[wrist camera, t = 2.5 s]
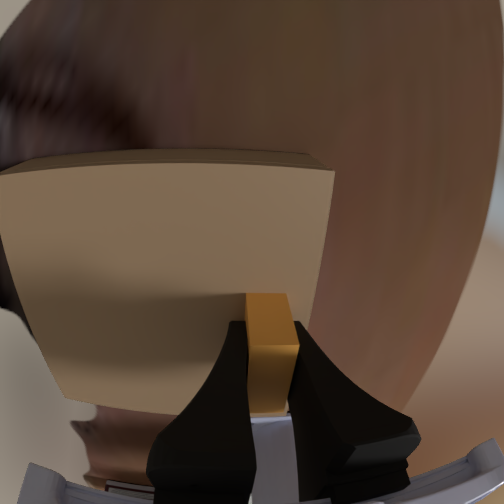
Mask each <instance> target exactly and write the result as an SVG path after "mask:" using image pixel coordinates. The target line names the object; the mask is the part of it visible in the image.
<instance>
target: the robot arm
mask: <svg viewBox="0 0 504 504" xmlns="http://www.w3.org/2000/svg"><path fill="white" fill-rule="evenodd" d="M294 325H295V329H296V333H297V337H298V341H299V350H298V354H297V359H296V363H295V368H294V372H293V376H292V380H291V384H290V389H289V393H288V397H287V402H288V406H289V410H290V413H287V414H286V416H277V417H250V410H249V401H248V392H247V381H246V358H247V342H248V338H247V329H246V321H230V322H229V327H228V332H227V336H226V339H225V342H224V344H223V347H222V349H221V352H220V354H219V356H218V358H217V360H216V362H215V364H214V366H213V368H212V370H211V372H210V374H209V375H208V377H207V379H206V380H205V382H204V383H203V385H202V386H201V388H200V389H199V391H198V392H197V393H196V395H195V396H194V398H193V399H192V400H191V401H190V403H189V404H188V405H187V406H186V407H185V408H184V410H183V411H182V412H181V413H180V414H179V415H178V416H177V417H176V418H175V419H174V420H173V421H172V422H171V423H170V424H169V425H168V426H167V427H166V428H165V429H164V430H162V431H161V432H160V433H159V434H158V435H157V437H156V439H155V441H154V443H153V446H152V448H151V450H150V453H149V457H148V461H147V468H146V475H147V477H148V478H149V480H150V482H151V483H152V485H153V486H154V488H155V489H154V499H153V500H147V499H141V498H135V497H129V496H124V495H119V494H115V493H110V492H106V491H101V490H97V489H93V488H90V487H86V486H82V485H79V484H75V483H72V482H69V481H66V480H65V478H64V477H63V476H61V475H60V474H59V473H57V472H55V471H53V470H50V469H47V468H44V467H42V466H39V465H36V464H34V463H29V465H28V468H27V471H26V474H25V478H24V481H23V484H22V487H21V491H20V494H19V498H18V502H17V504H248V503H249V499H250V494H251V495H252V504H474V503H476V502H478V501H479V500H481V499H483V498H484V497H485V496H487V495H489V494H490V493H491V492H493V491H494V490H496V489H497V488H499V487H500V486H501V485H502V484H504V456H503V454H502V452H501V450H500V448H499V446H498V444H497V442H496V440H495V438H491V439H489V440H488V441H485V442H484V443H481V444H479V445H478V446H476V447H475V448H473V449H472V450H471V451H470V452H469V453H468V454H467V456H465V457H463V458H460V459H458V460H456V461H453V462H451V463H449V464H446V465H444V466H441V467H439V468H436V469H434V470H431V471H428V472H426V473H423V474H420V475H417V476H414V477H411V478H409V477H408V474H407V471H406V468H407V467H408V462H407V460H406V458H407V457H408V456H409V455H410V454H411V453H412V452H413V451H414V450H415V449H416V448H417V446H418V445H419V443H420V441H421V437H420V434H419V432H418V429H417V427H416V425H415V423H414V422H413V420H412V418H410V417H408V416H406V415H404V414H402V413H400V412H398V411H396V410H394V409H392V408H390V407H388V406H386V405H385V404H383V403H381V402H380V401H378V400H376V399H375V398H373V397H372V396H370V395H369V394H368V393H366V392H365V391H364V390H362V389H361V388H359V387H358V386H357V385H356V384H354V383H353V382H352V381H351V380H350V379H349V378H348V377H346V376H345V375H344V374H343V373H342V372H341V371H340V370H339V369H338V368H337V367H336V366H335V365H334V364H333V362H332V361H331V360H330V359H329V358H328V357H327V356H326V355H325V353H324V352H323V351H322V350H321V349H320V347H319V346H318V345H317V344H316V342H315V341H314V340H313V338H312V337H311V336H310V334H309V333H308V332H307V330H306V329H305V327H304V326H303V325H302V323H301V322H300V321H294Z"/></svg>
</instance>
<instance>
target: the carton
mask: <svg viewBox="0 0 504 504" xmlns="http://www.w3.org/2000/svg"><path fill="white" fill-rule="evenodd" d="M152 160H212V161H243V162H263V163H279V164H293V165H305V166H317V167H327V166H326V165H324V164H323V163H321V162H320V161H318V160H317V159H315V158H314V157H312V156H311V155H309V154H300V153H289V152H275V151H259V150H239V149H199V148H174V149H135V150H115V151H100V152H87V153H76V154H66V155H57V156H48V157H40V158H33V159H30V160H28V161H25V162H23V163H20V164H18V165H15V166H13V167H11V168H8V169H6V170H4V171H2V172H0V173H3V172H10V171H17V170H25V169H33V168H42V167H52V166H62V165H73V164H86V163H102V162H121V161H152ZM327 168H328V167H327Z"/></svg>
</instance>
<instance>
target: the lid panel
mask: <svg viewBox="0 0 504 504" xmlns="http://www.w3.org/2000/svg"><path fill="white" fill-rule="evenodd" d="M334 176H335V171H334V170H332V169H331V168H327V167H317V166H305V165H293V164H279V163H263V162H243V161H212V160H152V161H121V162H102V163H86V164H73V165H62V166H52V167H42V168H33V169H25V170H17V171H10V172H3V173H0V234H1V239H2V243H3V247H4V250H5V254H6V258H7V261H8V265H9V268H10V272H11V275H12V278H13V281H14V284H15V287H16V290H17V293H18V296H19V299H20V302H21V304H22V307H23V310H24V312H25V315H26V318H27V320H28V323H29V325H30V327H31V330H32V332H33V335H34V337H35V339H36V341H37V344H38V346H39V348H40V350H41V352H42V355H43V357H44V359H45V361H46V363H47V365H48V367H49V369H50V371H51V373H52V375H53V376H54V378H55V380H56V382H57V384H58V386H59V388H60V390H61V391H62V393H63V395H64V397H65V398H68V399H72V400H77V401H81V402H87V403H91V404H97V405H102V406H108V407H114V408H121V409H127V410H135V411H143V412H151V413H161V414H172V415H179V414H180V413H181V412H182V411H183V410H184V408H185V407H186V406H187V405H188V404H189V403H190V401H191V400H192V399H193V398H194V396H195V395H196V393H197V392H198V391H199V389H200V388H201V386H202V385H203V383H204V382H205V380H206V379H207V377H208V375H209V374H210V372H211V370H212V368H213V366H214V364H215V362H216V360H217V358H218V356H219V354H220V352H221V349H222V347H223V344H224V342H225V339H226V336H227V332H228V327H229V322H230V321H246V329H247V338H248V342H247V358H246V381H247V392H248V401H249V410H250V417H277V416H286V414H287V410H288V407H289V406H288V402H287V397H288V393H289V389H290V384H291V380H292V376H293V372H294V368H295V363H296V359H297V354H298V350H299V341H298V337H297V333H296V329H295V325H294V321H300V322H301V323H302V325H303V326H304V327H305V329H306V330H307V329H308V324H309V320H310V315H311V310H312V305H313V300H314V295H315V290H316V285H317V280H318V275H319V270H320V264H321V259H322V253H323V247H324V242H325V236H326V230H327V223H328V217H329V211H330V204H331V197H332V190H333V183H334Z"/></svg>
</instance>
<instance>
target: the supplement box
mask: <svg viewBox="0 0 504 504" xmlns="http://www.w3.org/2000/svg"><path fill="white" fill-rule="evenodd" d="M154 489H155V488H154V487H149V486H141V485H134V484H128V483H122V482H116V481H111V480H107V481H106V486H105V491H106V492H110V493H115V494H119V495H124V496H129V497H135V498H141V499H147V500H153V499H154Z"/></svg>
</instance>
